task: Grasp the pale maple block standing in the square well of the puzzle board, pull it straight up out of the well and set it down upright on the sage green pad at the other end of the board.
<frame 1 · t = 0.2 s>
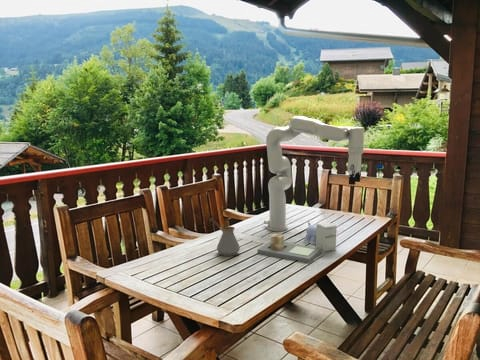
hand: (354, 183, 218), 31 cm above the table, tool pointing down, fingers open, 9 cm apart
coffee pot: (222, 251, 208), on the table
hippopotamus toy: (316, 241, 221), on the table
puzzle board: (289, 253, 204), on the table
supplement box: (325, 249, 210), on the table
maple block: (277, 251, 207), resting in puzzle board
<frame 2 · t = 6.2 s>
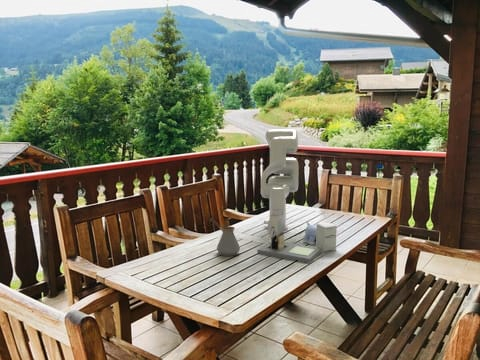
hand: (277, 246, 206), 2 cm above the table, tool pointing down, fingers closed on maple block, 5 cm apart
maple block: (277, 250, 207), resting in puzzle board, touching gripper
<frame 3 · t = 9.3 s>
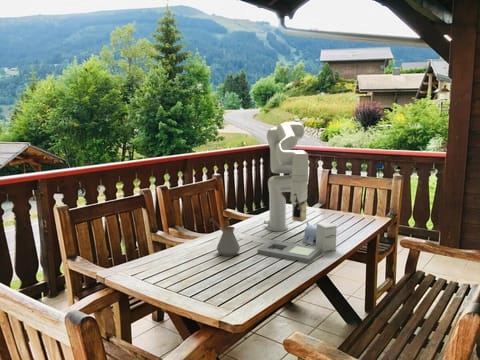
hand: (299, 215, 198), 20 cm above the table, tool pointing down, fingers closed on maple block, 5 cm apart
maple block: (299, 220, 198), point 17 cm above the table, touching gripper
when the fingers open (6 cm above the table, at t = 12.8 s): maple block drops 1 cm, resting on puzzle board.
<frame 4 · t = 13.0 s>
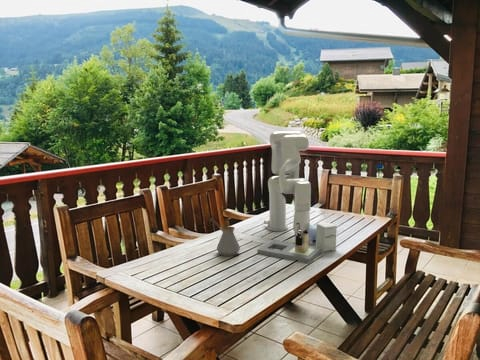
hand: (301, 242, 199), 6 cm above the table, tool pointing down, fingers open, 6 cm apart
maple block: (301, 250, 200), point 2 cm above the table, touching puzzle board
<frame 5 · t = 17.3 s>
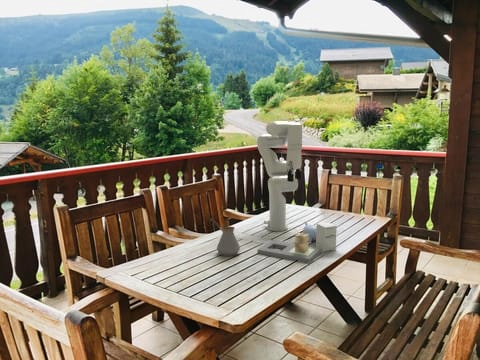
hand: (294, 180, 216), 33 cm above the table, tool pointing down, fingers open, 9 cm apart
at the end: maple block inside the target area on the puzzle board (0.1 cm from its centre), point 2.3 cm above the puzzle board's base; maple block tilted 0°; the gripper is holding nothing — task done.
